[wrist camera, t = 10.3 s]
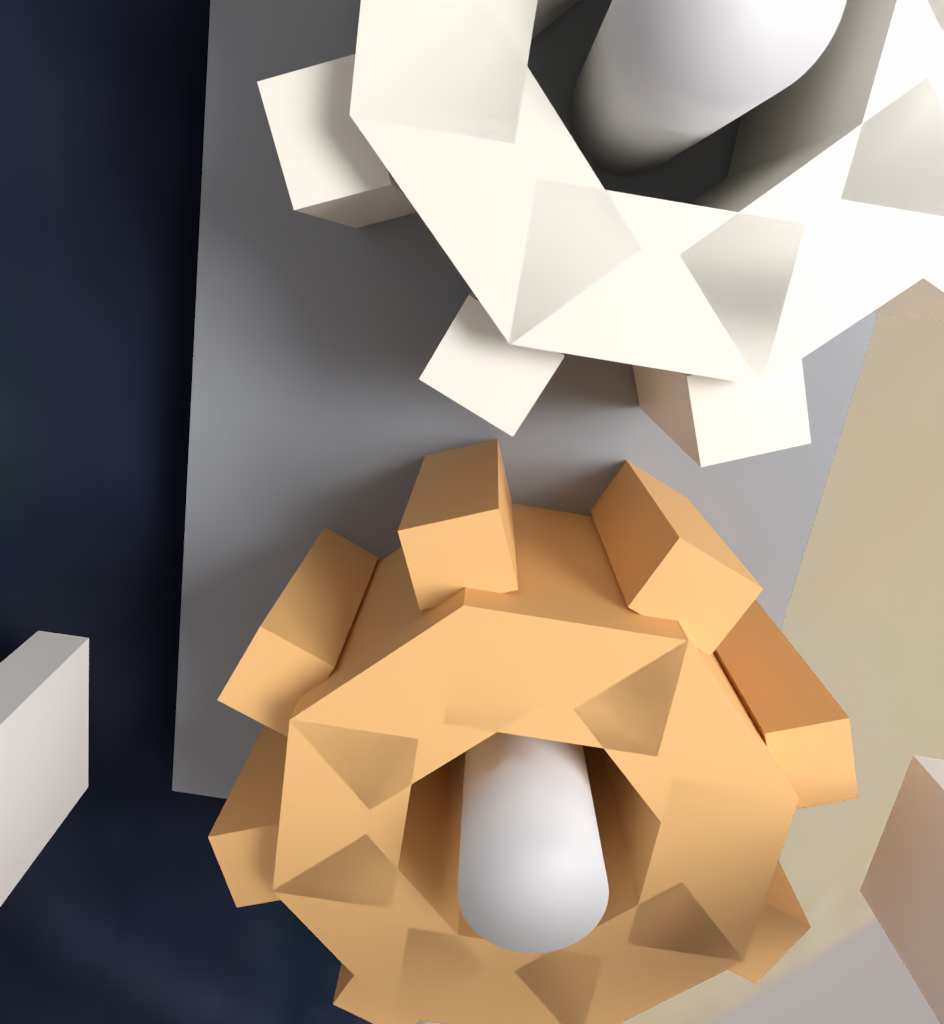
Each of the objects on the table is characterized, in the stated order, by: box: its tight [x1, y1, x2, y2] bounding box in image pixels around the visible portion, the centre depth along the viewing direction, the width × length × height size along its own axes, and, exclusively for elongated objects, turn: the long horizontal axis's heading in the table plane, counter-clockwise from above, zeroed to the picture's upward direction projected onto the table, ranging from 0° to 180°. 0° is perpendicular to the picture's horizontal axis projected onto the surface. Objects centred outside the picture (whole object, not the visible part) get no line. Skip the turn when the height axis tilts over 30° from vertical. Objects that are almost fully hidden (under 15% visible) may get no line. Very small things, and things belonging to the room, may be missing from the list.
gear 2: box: [208, 439, 858, 1024], centre depth 14 cm, size 10×10×5 cm
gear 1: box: [257, 0, 944, 467], centre depth 10 cm, size 10×10×5 cm
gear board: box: [172, 0, 878, 953], centre depth 12 cm, size 12×19×8 cm, turn 171°
